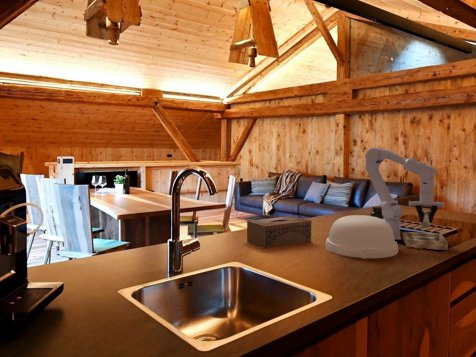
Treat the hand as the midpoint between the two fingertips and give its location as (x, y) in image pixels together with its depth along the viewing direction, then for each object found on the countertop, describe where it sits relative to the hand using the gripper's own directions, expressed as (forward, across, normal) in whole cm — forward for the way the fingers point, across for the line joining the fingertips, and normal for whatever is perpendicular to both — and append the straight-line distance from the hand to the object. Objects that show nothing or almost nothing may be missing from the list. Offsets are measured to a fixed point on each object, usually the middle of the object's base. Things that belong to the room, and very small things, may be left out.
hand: (425, 222), depth 184 cm
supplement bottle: (+10, -19, +25) cm, 33 cm away
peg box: (+9, -1, -3) cm, 10 cm away
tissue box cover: (+10, -64, -15) cm, 67 cm away
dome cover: (+10, -28, -18) cm, 35 cm away
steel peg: (+2, 0, 0) cm, 2 cm away
